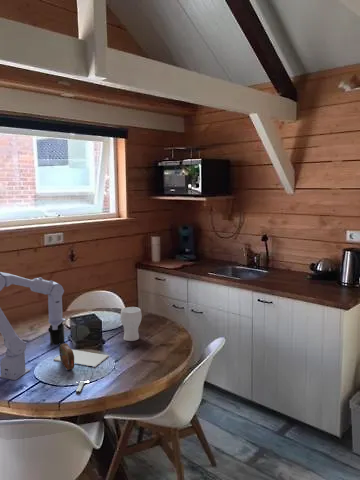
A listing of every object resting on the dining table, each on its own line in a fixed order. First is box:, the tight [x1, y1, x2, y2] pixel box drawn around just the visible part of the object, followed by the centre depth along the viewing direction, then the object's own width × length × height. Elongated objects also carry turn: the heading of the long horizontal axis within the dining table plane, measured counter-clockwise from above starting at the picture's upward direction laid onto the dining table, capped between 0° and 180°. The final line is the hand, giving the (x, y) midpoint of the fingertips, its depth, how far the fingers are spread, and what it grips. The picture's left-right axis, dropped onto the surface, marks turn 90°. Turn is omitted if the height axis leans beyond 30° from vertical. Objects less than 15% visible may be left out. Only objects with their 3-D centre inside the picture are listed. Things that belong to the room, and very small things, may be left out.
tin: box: [58, 342, 75, 371], centre depth 180 cm, size 15×3×8 cm, turn 31°
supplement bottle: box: [49, 322, 66, 345], centre depth 206 cm, size 7×7×12 cm
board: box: [53, 348, 110, 368], centre depth 189 cm, size 12×21×1 cm, turn 71°
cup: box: [119, 306, 143, 342], centre depth 212 cm, size 11×11×15 cm
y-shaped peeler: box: [75, 380, 91, 395], centre depth 166 cm, size 17×5×1 cm, turn 1°
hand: (56, 340), depth 183 cm, fingers open, 7 cm apart
